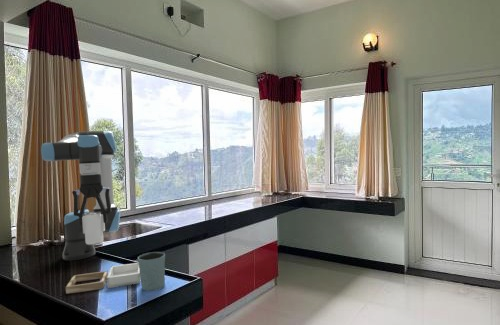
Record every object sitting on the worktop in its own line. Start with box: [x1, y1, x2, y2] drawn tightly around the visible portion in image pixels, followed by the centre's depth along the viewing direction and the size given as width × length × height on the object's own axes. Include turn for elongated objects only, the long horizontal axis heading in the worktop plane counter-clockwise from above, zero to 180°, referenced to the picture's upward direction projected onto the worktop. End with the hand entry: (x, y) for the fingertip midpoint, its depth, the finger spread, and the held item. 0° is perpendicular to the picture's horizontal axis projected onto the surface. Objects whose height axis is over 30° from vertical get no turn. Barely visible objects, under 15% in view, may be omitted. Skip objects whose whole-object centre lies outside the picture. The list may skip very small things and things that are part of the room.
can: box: [84, 211, 104, 246], centre depth 133 cm, size 6×6×12 cm
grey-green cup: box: [137, 251, 166, 292], centre depth 128 cm, size 10×10×12 cm
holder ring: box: [65, 270, 109, 295], centre depth 133 cm, size 13×13×2 cm
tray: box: [106, 262, 141, 289], centre depth 137 cm, size 14×12×4 cm
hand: (94, 231), depth 133 cm, fingers closed on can, 6 cm apart
